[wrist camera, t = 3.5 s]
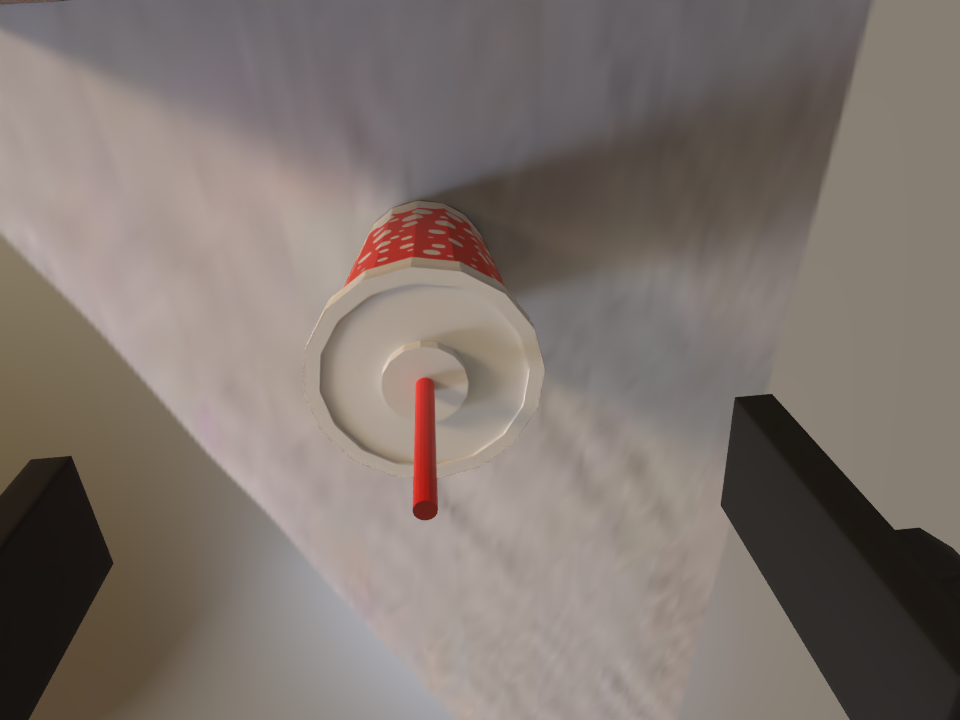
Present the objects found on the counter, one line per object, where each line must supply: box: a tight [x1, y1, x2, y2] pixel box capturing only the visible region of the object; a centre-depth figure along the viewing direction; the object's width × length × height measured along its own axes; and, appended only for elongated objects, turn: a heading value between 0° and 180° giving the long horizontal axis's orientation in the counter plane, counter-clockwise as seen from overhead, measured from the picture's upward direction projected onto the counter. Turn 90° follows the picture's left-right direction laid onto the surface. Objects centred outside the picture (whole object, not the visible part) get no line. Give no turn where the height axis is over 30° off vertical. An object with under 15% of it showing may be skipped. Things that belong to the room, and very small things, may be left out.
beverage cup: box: [304, 201, 545, 520], centre depth 19 cm, size 6×6×14 cm
